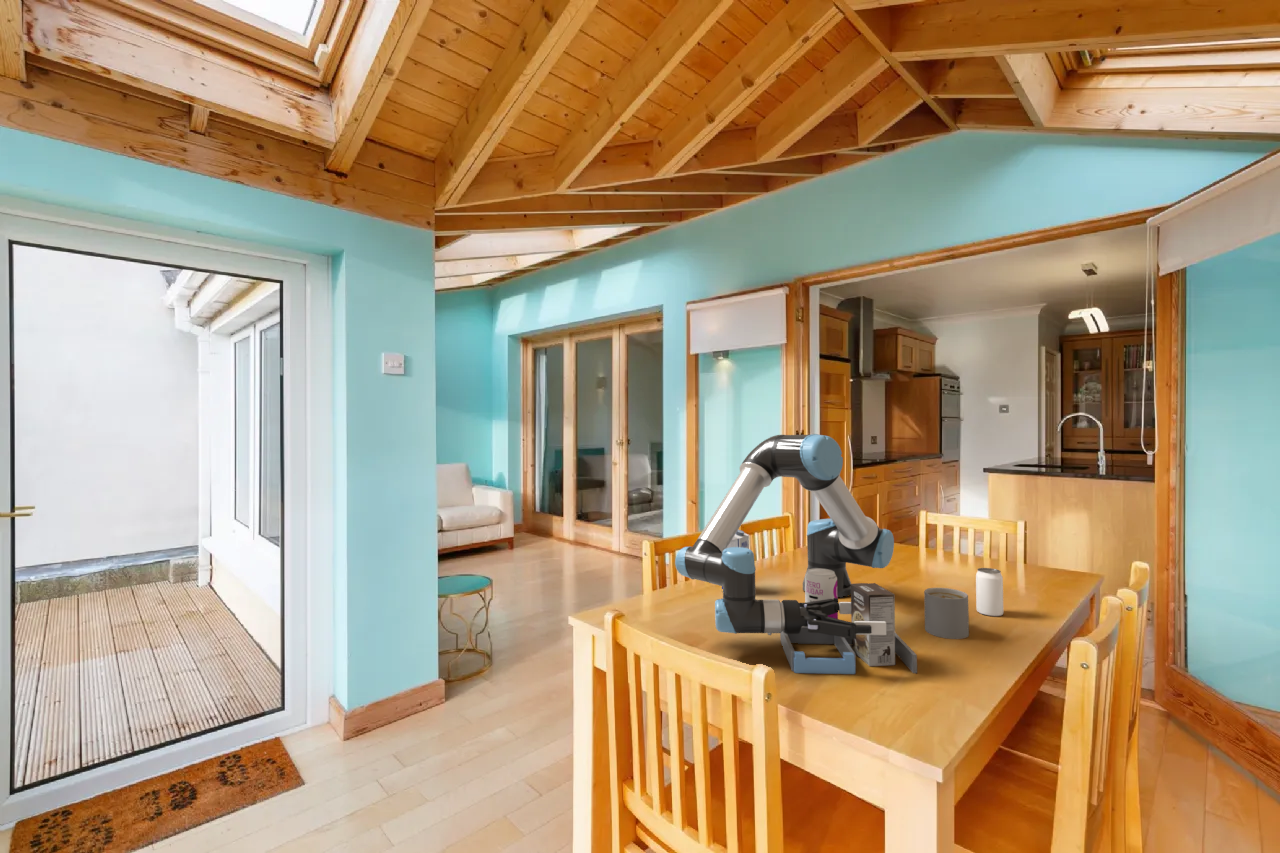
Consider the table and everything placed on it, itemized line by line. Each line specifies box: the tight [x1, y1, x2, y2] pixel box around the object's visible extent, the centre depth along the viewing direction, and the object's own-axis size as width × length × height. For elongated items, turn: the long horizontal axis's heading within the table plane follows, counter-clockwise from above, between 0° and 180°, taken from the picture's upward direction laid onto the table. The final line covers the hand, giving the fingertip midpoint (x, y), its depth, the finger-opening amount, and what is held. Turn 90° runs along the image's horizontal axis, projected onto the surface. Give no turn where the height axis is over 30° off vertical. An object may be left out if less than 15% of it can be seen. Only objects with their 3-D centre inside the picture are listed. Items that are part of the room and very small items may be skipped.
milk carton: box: [721, 529, 750, 590], centre depth 188 cm, size 7×7×20 cm
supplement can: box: [804, 568, 839, 619], centre depth 153 cm, size 8×8×15 cm
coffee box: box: [850, 582, 896, 667], centre depth 133 cm, size 9×6×16 cm
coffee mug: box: [923, 587, 970, 640], centre depth 150 cm, size 13×10×10 cm
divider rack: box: [779, 626, 918, 675], centre depth 133 cm, size 18×26×4 cm
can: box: [975, 567, 1004, 617], centre depth 162 cm, size 6×6×12 cm
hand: (876, 617), depth 133 cm, fingers open, 13 cm apart
